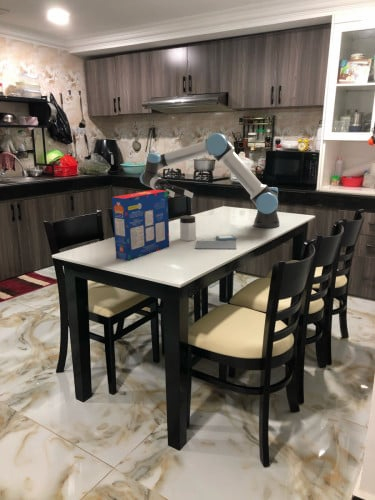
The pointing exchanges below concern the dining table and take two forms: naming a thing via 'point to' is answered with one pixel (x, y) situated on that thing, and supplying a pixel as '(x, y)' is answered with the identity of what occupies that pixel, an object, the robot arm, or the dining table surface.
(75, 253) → the dining table surface
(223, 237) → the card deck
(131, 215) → the blue cardboard box
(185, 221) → the jar
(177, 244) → the dining table surface
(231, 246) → the mat
